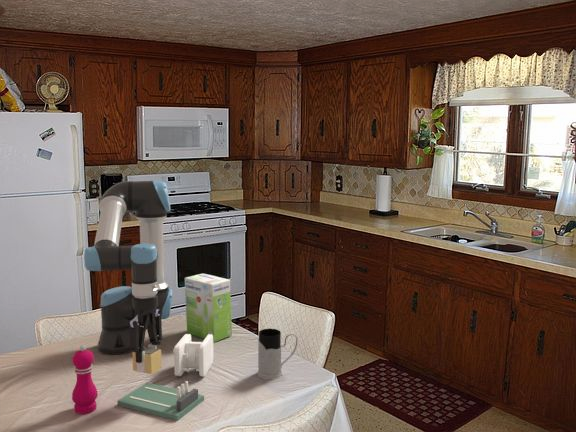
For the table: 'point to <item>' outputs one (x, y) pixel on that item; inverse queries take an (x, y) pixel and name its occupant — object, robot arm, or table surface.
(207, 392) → the table surface
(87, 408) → the pepper mill
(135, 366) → the plug block
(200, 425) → the table surface
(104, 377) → the table surface
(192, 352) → the cable organizer
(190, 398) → the board
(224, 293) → the toothbrush box
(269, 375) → the grey mug
